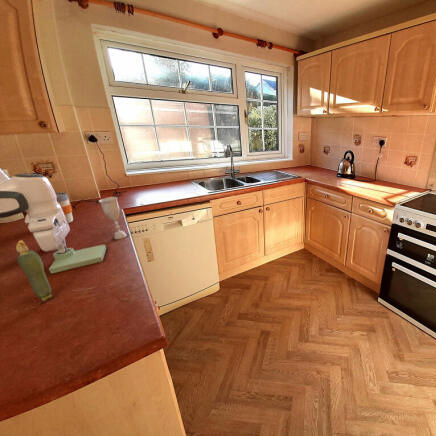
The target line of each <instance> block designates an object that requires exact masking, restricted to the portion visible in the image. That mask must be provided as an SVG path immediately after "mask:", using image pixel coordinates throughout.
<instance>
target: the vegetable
mask: <svg viewBox="0 0 436 436" xmlns="http://www.w3.org/2000/svg"><path fill="white" fill-rule="evenodd" d="M15 249H16V252H18V255H17V257H16V258H17V263H18V265H19V267H20V268H21V270H22V271H23V272H24V273H25V275H26V277H27V279H28V281H29V285H30V286H31V289H32V292H33V293H34V294H35V296H36V297H37V298H38V299H41V301H43V302H46V301H47V300H50V299H51V298H52V296H53V295H52V293H53V292H52V288H51V284H50V282H49V280H48V278H47V274H46V272H45V268H44V267H45V266H44V263H43V261H42V258H41V256H40V255H39V254H38V253H37V252H36V251H34V250H31V249H30V250H29V247H28V246H27V244H26V243H25V241H24V240H23V239H20V240H19V241H17V244H16V247H15Z"/></svg>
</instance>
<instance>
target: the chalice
mask: <svg viewBox="0 0 436 436" xmlns="http://www.w3.org/2000/svg"><path fill="white" fill-rule="evenodd" d="M98 203H99V204H100V206H101V209H102V211H103V213H104V215H106V216H107V218H109V219H110V220H111V221H112V220H113V222H114V223H113V224H114V225H115V227H114V228H115V229H116V232H115V233H114V237H113V238H114V239H115V240H121V239H124V238H126V237H127V233H126V232H125V231H123V230H120V229H121V228H120V227H121V226H120V225H119V222H118V219H119V215H120V205H119V203H118V197H116V196H111V197H110V196H109V197H104V198H101V199H99V200H98Z"/></svg>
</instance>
